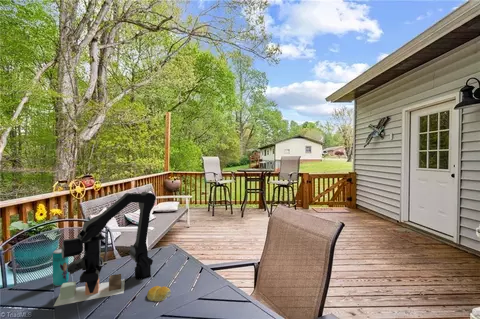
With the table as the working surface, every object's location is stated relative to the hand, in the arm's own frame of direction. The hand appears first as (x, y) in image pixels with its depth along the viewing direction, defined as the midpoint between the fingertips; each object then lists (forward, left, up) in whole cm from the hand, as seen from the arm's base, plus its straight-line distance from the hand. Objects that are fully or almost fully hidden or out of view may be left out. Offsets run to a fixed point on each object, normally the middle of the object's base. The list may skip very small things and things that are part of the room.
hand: (92, 289), depth 106 cm
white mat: (0, 0, -2) cm, 2 cm away
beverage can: (+14, -14, -2) cm, 20 cm away
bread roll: (-25, +14, -2) cm, 29 cm away
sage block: (+9, 0, -1) cm, 9 cm away
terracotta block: (0, 0, -1) cm, 1 cm away
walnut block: (-8, 0, -1) cm, 9 cm away
